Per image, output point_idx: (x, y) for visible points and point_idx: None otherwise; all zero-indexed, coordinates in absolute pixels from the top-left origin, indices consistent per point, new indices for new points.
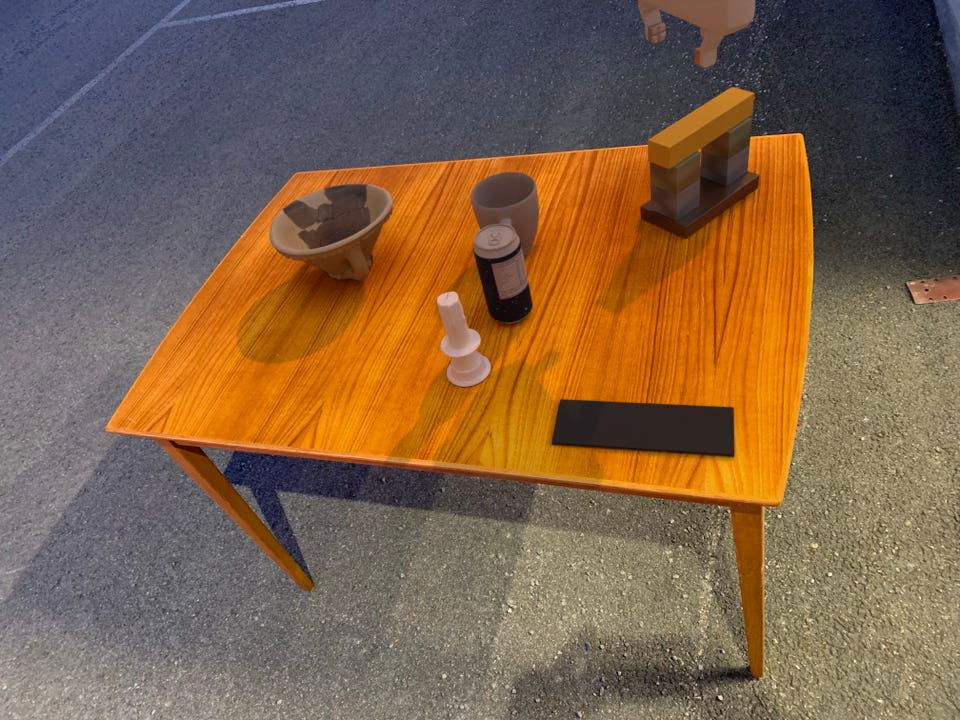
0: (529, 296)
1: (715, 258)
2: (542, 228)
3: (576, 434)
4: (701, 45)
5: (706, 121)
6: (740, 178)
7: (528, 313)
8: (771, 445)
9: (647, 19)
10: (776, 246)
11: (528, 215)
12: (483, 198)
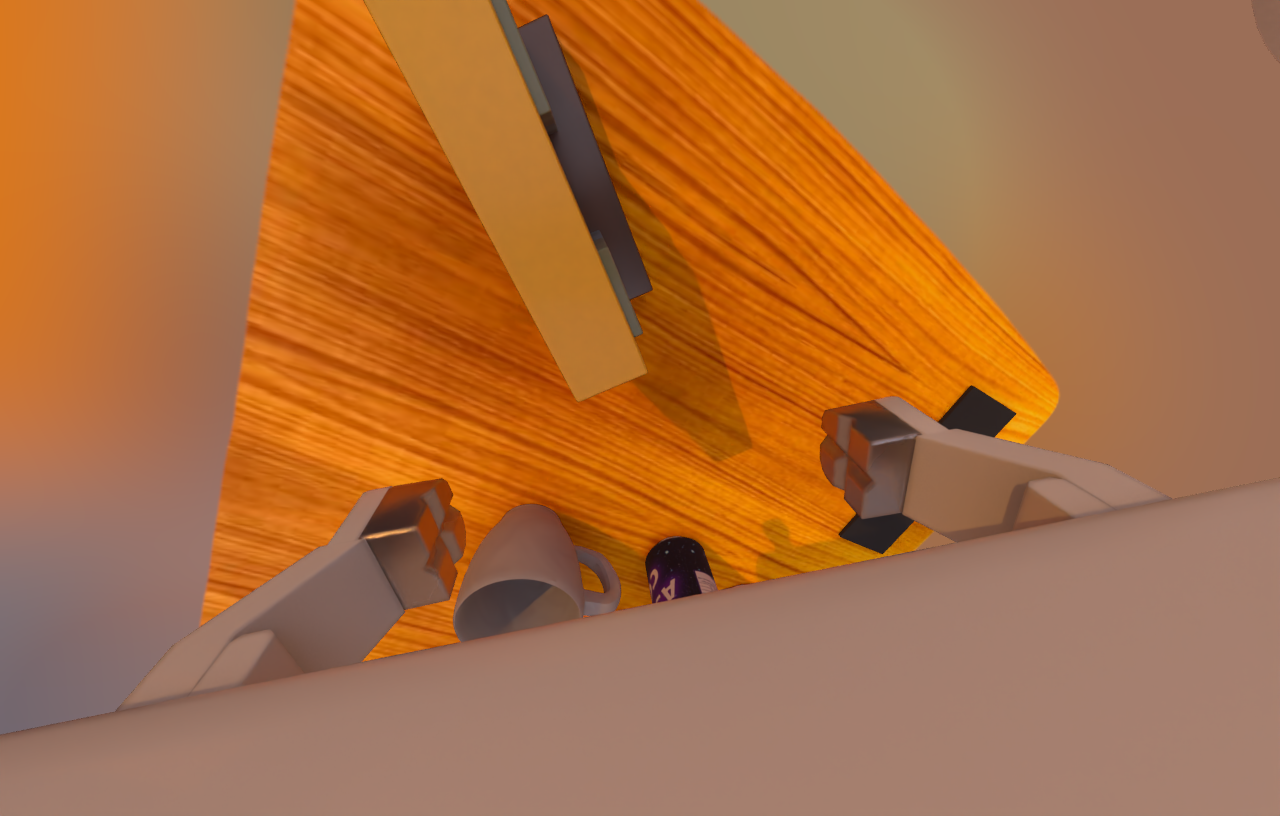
0: (698, 556)
1: (725, 262)
2: (494, 482)
3: (890, 533)
4: (951, 536)
5: (570, 215)
6: (540, 75)
7: (700, 545)
8: (1031, 372)
9: (363, 644)
10: (760, 138)
11: (574, 570)
12: (480, 620)
